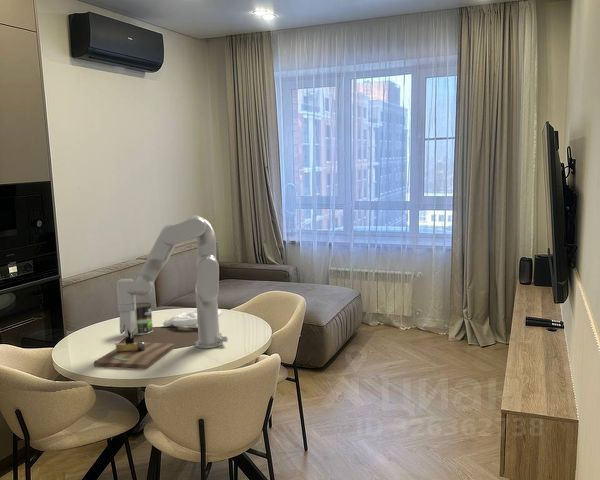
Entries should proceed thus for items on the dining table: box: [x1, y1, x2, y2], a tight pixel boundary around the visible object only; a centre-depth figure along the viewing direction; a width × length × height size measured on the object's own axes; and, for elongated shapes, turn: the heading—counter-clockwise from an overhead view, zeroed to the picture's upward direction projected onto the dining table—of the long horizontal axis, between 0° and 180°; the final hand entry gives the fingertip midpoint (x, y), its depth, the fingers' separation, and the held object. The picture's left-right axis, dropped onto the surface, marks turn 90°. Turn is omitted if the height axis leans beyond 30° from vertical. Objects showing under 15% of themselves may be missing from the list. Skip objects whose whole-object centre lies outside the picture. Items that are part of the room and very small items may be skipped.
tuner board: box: [93, 341, 176, 370], centre depth 231 cm, size 24×26×2 cm
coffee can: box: [133, 302, 154, 336], centre depth 267 cm, size 10×10×14 cm
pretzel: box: [162, 309, 222, 327], centre depth 279 cm, size 28×24×6 cm
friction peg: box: [114, 341, 146, 351], centre depth 233 cm, size 12×3×4 cm, turn 94°
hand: (130, 346), depth 236 cm, fingers closed
